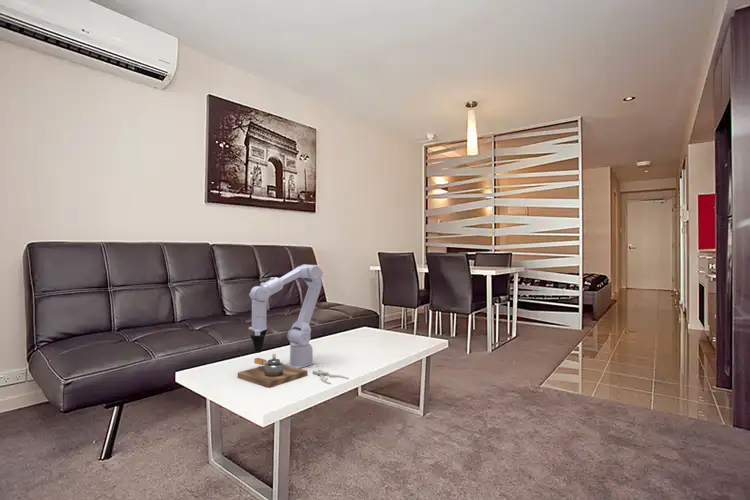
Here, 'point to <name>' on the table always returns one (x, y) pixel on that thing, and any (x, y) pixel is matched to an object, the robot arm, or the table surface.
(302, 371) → the bench block
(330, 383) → the pliers
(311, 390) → the table surface
